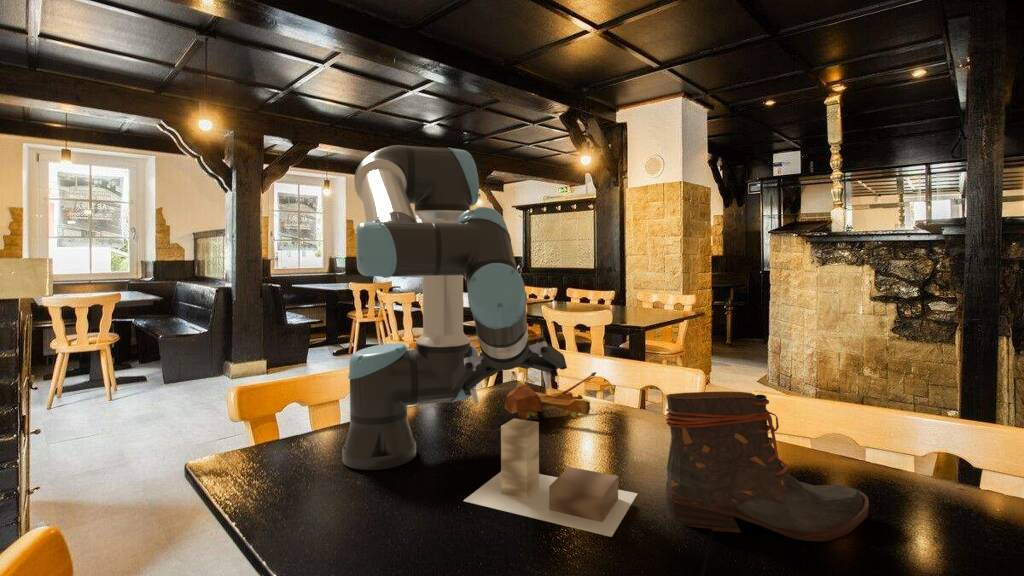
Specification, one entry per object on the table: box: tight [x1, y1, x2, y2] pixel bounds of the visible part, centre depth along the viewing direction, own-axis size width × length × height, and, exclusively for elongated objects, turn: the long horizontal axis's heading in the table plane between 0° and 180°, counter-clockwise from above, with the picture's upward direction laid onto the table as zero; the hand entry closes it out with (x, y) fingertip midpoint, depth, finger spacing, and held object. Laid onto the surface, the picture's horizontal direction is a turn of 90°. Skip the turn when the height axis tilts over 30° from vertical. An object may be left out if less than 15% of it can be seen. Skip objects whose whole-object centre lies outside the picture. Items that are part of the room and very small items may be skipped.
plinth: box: [549, 466, 619, 522], centre depth 88 cm, size 9×9×4 cm
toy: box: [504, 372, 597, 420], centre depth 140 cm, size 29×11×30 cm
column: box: [500, 418, 540, 499], centre depth 93 cm, size 5×5×12 cm
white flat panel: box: [462, 471, 639, 538], centre depth 91 cm, size 26×16×1 cm, turn 63°
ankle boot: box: [665, 391, 870, 542], centre depth 83 cm, size 11×31×20 cm, turn 86°
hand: (511, 389), depth 98 cm, fingers open, 13 cm apart
